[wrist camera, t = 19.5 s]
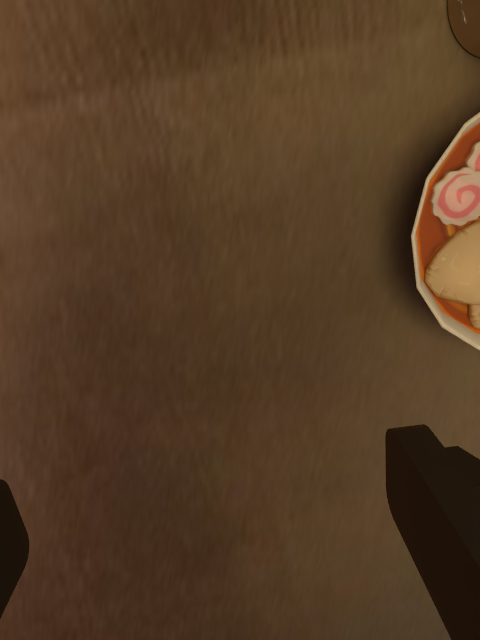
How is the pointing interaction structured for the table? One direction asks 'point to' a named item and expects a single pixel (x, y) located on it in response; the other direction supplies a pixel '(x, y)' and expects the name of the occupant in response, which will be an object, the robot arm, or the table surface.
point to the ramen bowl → (452, 236)
